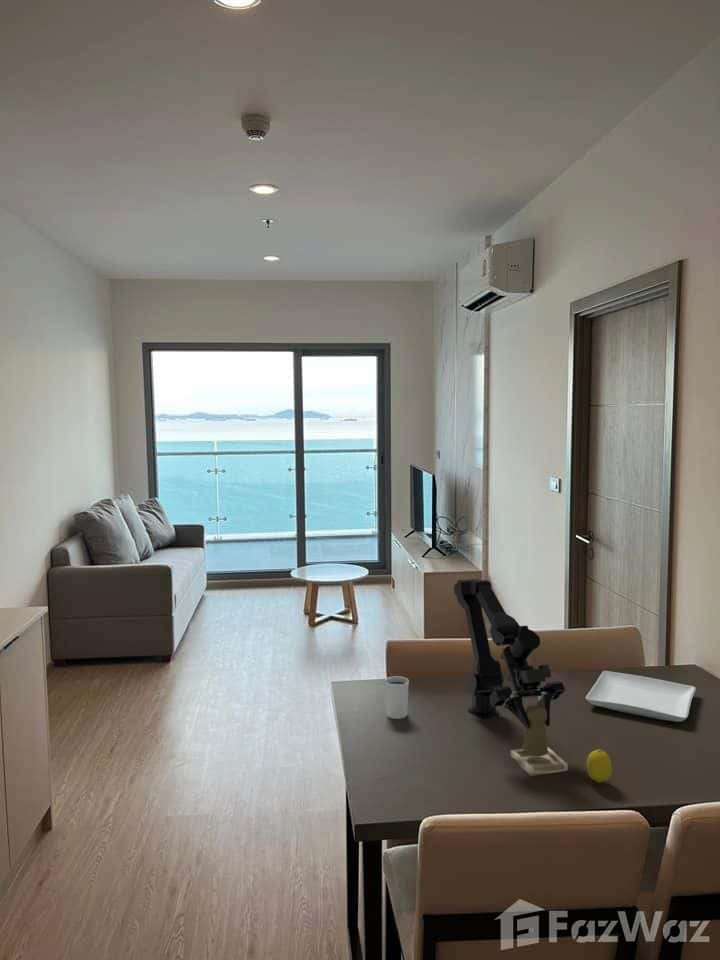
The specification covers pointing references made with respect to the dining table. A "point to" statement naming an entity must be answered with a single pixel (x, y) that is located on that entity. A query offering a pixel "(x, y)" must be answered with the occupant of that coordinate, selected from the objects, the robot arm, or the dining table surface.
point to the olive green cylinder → (536, 732)
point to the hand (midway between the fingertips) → (538, 727)
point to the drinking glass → (396, 697)
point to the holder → (539, 762)
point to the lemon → (599, 766)
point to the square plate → (642, 696)
